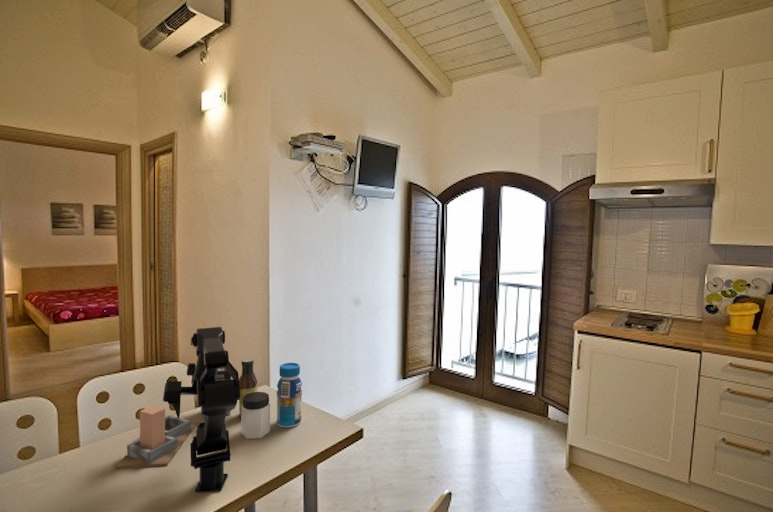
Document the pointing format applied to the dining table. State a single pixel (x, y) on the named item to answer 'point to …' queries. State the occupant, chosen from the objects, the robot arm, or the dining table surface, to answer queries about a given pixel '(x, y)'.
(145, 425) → the pink rectangular block
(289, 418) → the beverage bottle
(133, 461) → the cap board
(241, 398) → the sauce bottle
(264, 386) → the dining table surface
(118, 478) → the dining table surface
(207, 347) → the robot arm
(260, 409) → the jar
